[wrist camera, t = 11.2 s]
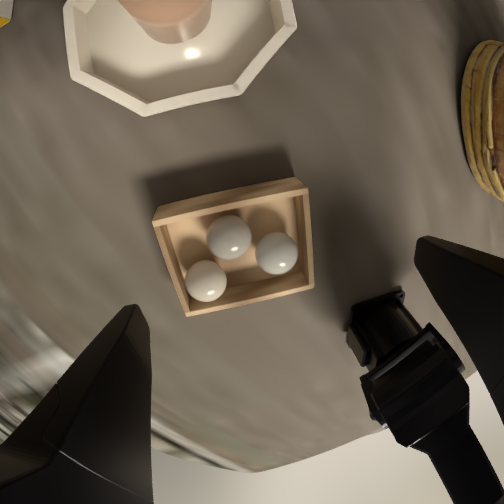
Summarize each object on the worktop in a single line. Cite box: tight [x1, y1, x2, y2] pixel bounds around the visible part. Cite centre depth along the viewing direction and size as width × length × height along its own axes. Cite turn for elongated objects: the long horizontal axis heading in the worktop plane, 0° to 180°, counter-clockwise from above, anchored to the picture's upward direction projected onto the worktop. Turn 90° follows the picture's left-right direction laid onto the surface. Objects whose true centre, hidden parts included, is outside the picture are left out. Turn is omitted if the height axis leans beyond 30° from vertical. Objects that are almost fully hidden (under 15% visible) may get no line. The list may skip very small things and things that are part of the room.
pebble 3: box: [255, 232, 298, 275], centre depth 20 cm, size 3×3×3 cm
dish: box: [63, 0, 297, 117], centre depth 12 cm, size 13×13×3 cm
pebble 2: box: [206, 215, 252, 260], centre depth 19 cm, size 3×3×3 cm
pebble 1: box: [185, 260, 227, 302], centre depth 21 cm, size 3×3×3 cm
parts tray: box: [152, 177, 314, 317], centre depth 21 cm, size 10×8×3 cm
